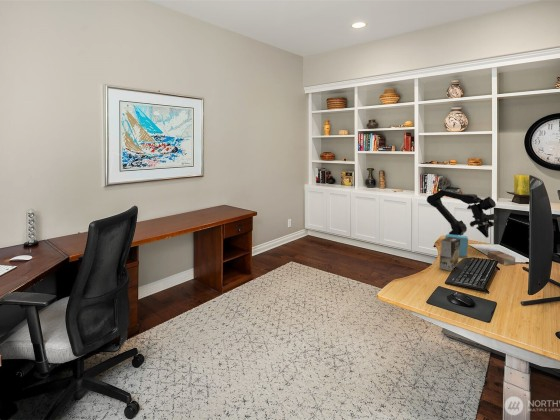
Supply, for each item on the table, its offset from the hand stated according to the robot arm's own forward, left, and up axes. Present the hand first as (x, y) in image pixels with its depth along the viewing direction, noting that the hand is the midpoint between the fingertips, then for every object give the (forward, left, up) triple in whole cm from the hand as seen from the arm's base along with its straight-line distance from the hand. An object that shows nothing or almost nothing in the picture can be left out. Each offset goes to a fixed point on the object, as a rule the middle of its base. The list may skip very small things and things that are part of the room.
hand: (487, 237), depth 203 cm
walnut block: (+6, -1, -8) cm, 10 cm away
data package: (-2, -19, -10) cm, 22 cm away
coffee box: (+15, -36, -10) cm, 40 cm away
